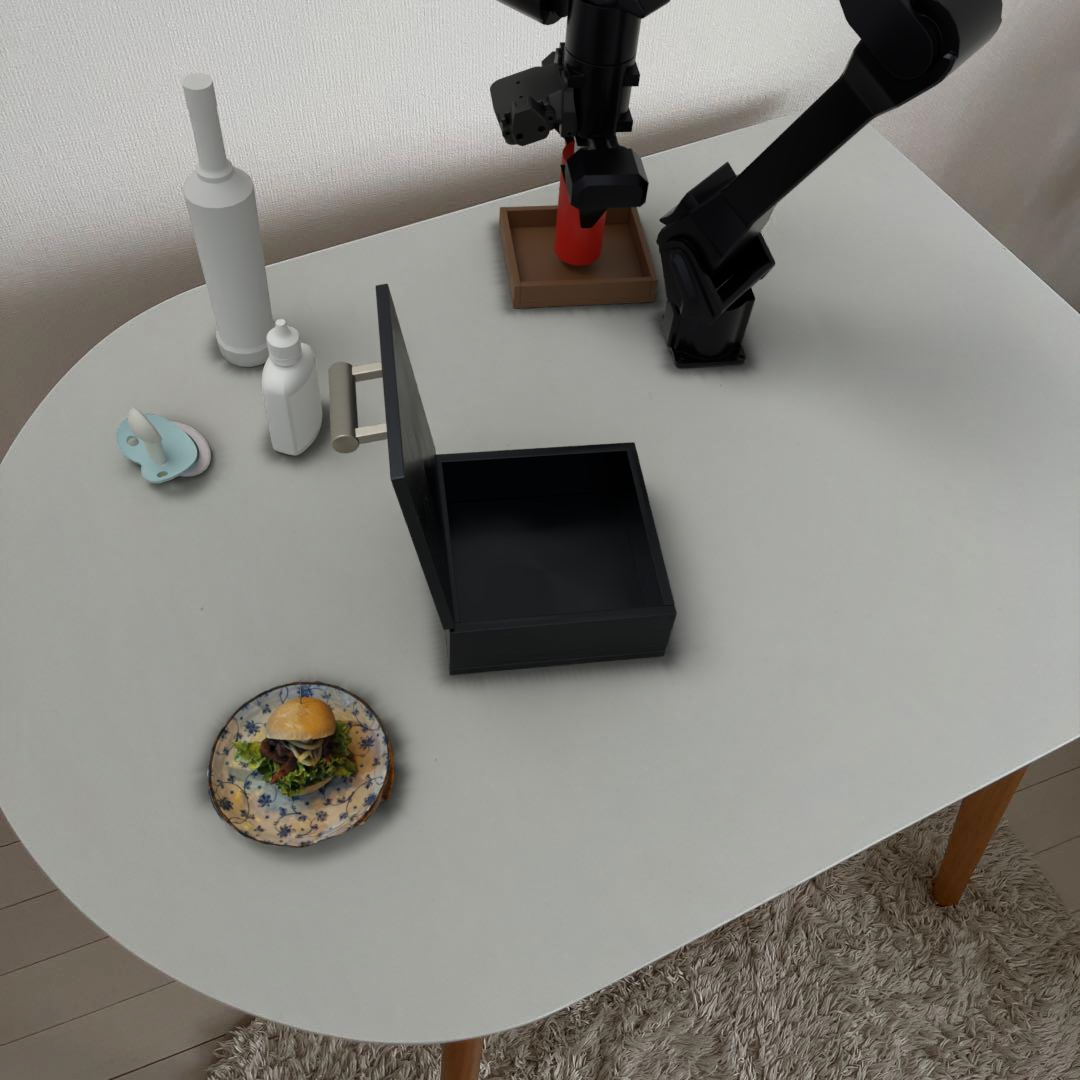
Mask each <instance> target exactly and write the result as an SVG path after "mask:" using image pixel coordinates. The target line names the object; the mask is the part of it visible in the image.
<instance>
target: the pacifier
mask: <svg viewBox="0 0 1080 1080" xmlns="http://www.w3.org/2000/svg"><path fill="white" fill-rule="evenodd" d="M115 438H116V444H117V446H118V448H119V450H120V451H121V453H122V454H123V455H124V457H126V458H127V459H128V460H129V461H131V462H132V463H135V464H137V465H140V466H141V467H140V471H141V475H142V477H143V478H144V480H145V481H146V482H148V483H151V484H161V483H166V482H168V481H171V480H173V479H175V478H177V477H184V478H185V477H187V478H188V477H195V476H198V475H201V474H202V473H204V471H206V470H207V469H208V467H209V465H210V464H211V461H212V460H211V459H212V451H211V447H210V446H209V443H208V441H207V440H206V439H205V437H204V436H203V435H202V434H201V433H200V432H199V431H198V430H196V429H195V428H193V427H192V426H190V425H188V424H186V423H182V422H180V421H173V420H169V419H167V418H165V417H164V416H162V415H157V414H152V413H143V412H142V411H140V410H139V409H138V408H137V407H132V408H131V409H130V411H129V413H128V416H127V417H126V418H125V419H123V420H122V422H121V423H120V424H119V425H118V428H117V430H116V436H115ZM130 439H135V440H137V441H138V443H137V444H136V445H132V444H129V443H128V442H129V440H130ZM197 449H198V450H197ZM198 451H199V452H198ZM198 453H199V454H198Z"/></svg>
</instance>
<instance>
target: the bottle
mask: <svg viewBox="0 0 1080 1080" xmlns="http://www.w3.org/2000/svg"><path fill="white" fill-rule="evenodd" d="M181 84H182V90H183V94H184V99H185V104H186V108H187V110H188V114H189V119H190V124H191V129H192V134H193V139H194V145H195V148H196V153H197V158H198V162H197V163H196V165H195V170H194V171H193V172H192V173H190V174H189V175H188V176H187V177H186V178H185V179H184V180H183V184H182V188H181V190H182V193H183V198H184V200H185V206H186V209H187V214H188V218H189V221H190V226H191V229H192V233H193V237H194V241H195V246H196V249H197V253H198V257H199V261H200V265H201V269H202V273H203V277H204V281H205V284H206V285H205V286H206V289H207V292H208V296H209V299H210V300H209V301H210V305H211V309H212V313H213V316H214V320H215V325H216V332H215V338H216V342H217V345H218V348H219V351H220V353H221V355H222V356H223V358H225V360H227V361H228V362H229V363H230V364H232V365H235V366H237V367H241V368H242V367H244V368H252V367H257V366H261V365H263V364H265V363H266V361H267V359H268V357H269V351H268V345H267V340H266V337H267V334H268V332H269V331H270V330H271V329H272V328H274V327H275V325H276V321H274V318H273V312H272V306H271V297H270V291H269V285H268V275H267V269H266V263H265V256H264V249H263V248H264V247H263V241H262V235H261V234H262V233H261V227H260V219H259V214H258V212H259V211H258V206H257V199H256V191H255V185H254V182H253V179H252V177H251V175H250V174H248V173H247V172H245V170H243V169H241V168H239V167H237V166H234V165H233V163H232V161H230V159H228V158H227V153H226V149H225V144H224V137H223V133H222V127H221V123H220V121H221V120H220V117H219V111H218V102H217V96H216V91H215V86H214V80H213V77H211V76H210V75H209V74H206V73H204V72H193V73H190V74H188V75H185V76H184V77H183V78H182V81H181Z"/></svg>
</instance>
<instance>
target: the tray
mask: <svg viewBox="0 0 1080 1080" xmlns="http://www.w3.org/2000/svg"><path fill="white" fill-rule="evenodd" d="M557 210H558V204H557V205H529V206H526V205H525V206H500V207H499V217H498V233H499V239H500V244H501V249H502V254H503V259H504V265H505V270H506V277H507V281H508V287H509V294H510V298H511V304H512V308H513V309H525V308H526V309H528V308H547V307H548V308H549V307H551V308H552V307H571V306H593V305H614V304H636V303H637V304H638V303H654V302H655V300H656V294H657V289H658V285H659V278H658V275H657V271H656V268H655V265H654V262H653V261H654V260H653V258H652V255H651V250H650V248H649V244H648V241H647V238H646V234H645V231H644V228H643V224H642V221H641V218H640V214H639V210H638V207H627V208H608V209H607V210H606V218H605V226H604V234H603V241H602V249H601V255H600V257H599V258H598V259H597V260H596V261H595V262H593V263H591V264H588V265H582V266H578V265H571V264H568V263H566V262H564V261H562V260H561V259H559V258H558V257H557V255H556V253H555V251H554V245H555V234H556V222H557Z"/></svg>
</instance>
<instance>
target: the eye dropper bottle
mask: <svg viewBox="0 0 1080 1080" xmlns="http://www.w3.org/2000/svg"><path fill="white" fill-rule="evenodd" d="M275 324H276V325H275V327H274V328H272V329H271V330H270V331H269V332H268V334H267V337H266V340H267V345H268V351H269V357H268V359H267V361H266V362H265V363H264V367H263V370H262V374H261V392H262V398H263V399H262V400H263V405H264V409H265V415H266V420H267V426H268V431H269V435H270V442H271V446H272V448H273V450H274V451H276V452H279V453H280V454H281V453H282V454H285V455H288V456H289V455H290V456H299V455H301V454H302V453H304V452H305V451H306V450H307V449H308V448H309V447H310V446H311V445H312V444H313V443H314V441H315V440H316V439H317V437H318V435H319V433H320V431H321V427H322V423H323V405H322V397H321V389H320V383H319V375H318V368H317V361H316V356H315V351H314V349H313V347H312V346H311V345H309V344H307V343H305V342H302V341H301V337H300V336H301V335H300V332H299V331H298V330H297V329H296V328H294V327H293V326H291V325H287V322H286V320H285V319H283V318H278V319H277V320H276V321H275Z"/></svg>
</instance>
